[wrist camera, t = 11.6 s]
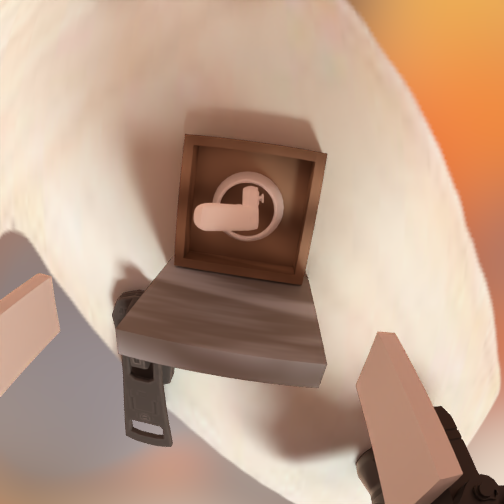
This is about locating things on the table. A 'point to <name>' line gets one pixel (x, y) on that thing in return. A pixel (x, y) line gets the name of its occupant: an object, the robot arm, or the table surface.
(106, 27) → the table surface
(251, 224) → the pink door lever handle
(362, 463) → the robot arm
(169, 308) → the open wooden box
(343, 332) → the table surface
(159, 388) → the zipper pull
